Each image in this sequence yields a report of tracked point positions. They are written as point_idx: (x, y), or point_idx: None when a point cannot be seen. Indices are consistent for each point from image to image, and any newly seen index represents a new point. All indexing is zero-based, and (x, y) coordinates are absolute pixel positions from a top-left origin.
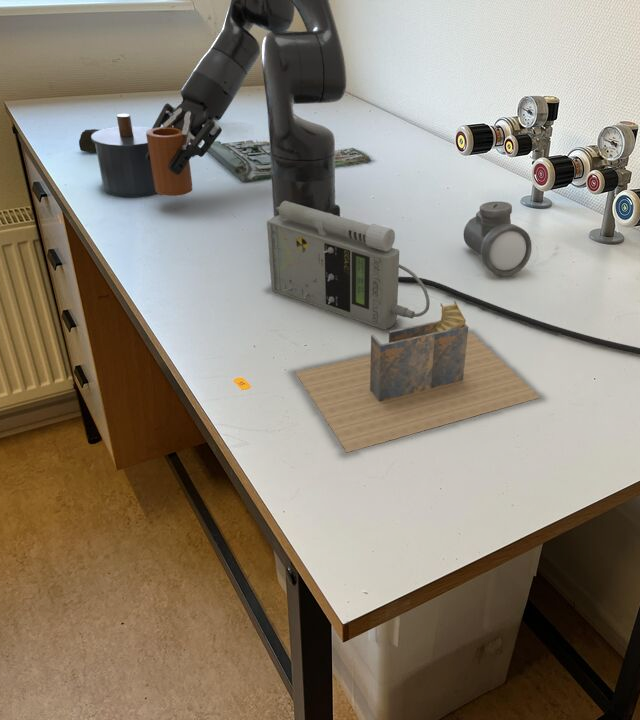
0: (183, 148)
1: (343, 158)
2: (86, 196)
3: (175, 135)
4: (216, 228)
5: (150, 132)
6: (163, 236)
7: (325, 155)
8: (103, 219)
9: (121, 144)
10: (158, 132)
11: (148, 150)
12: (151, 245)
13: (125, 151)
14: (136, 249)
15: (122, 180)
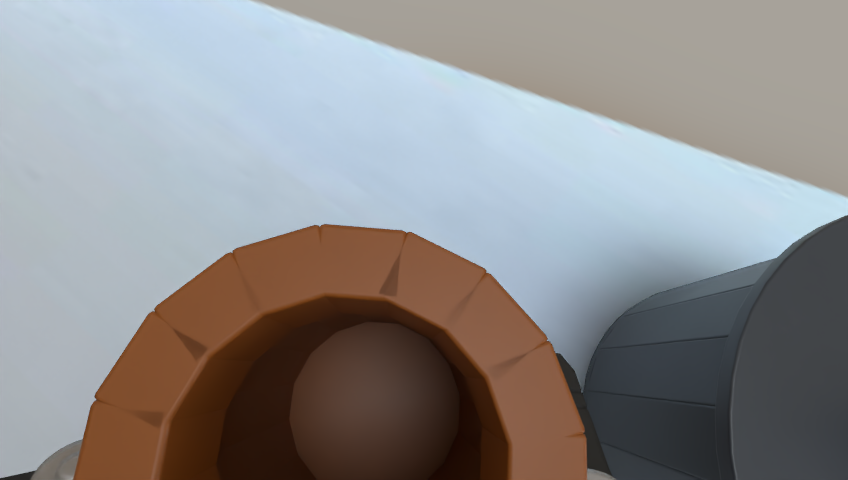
0: (71, 445)
1: None
2: (716, 213)
3: (108, 461)
4: (75, 374)
5: (443, 300)
6: (188, 182)
7: None
8: (469, 132)
9: (790, 291)
10: (496, 454)
11: (577, 382)
12: (162, 112)
13: None
14: (177, 65)
15: (661, 304)
